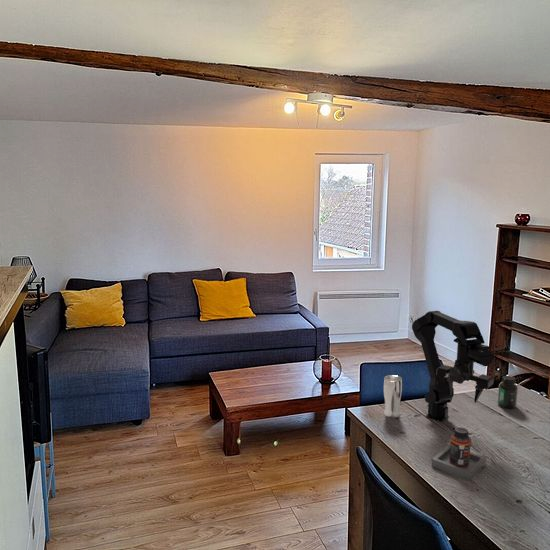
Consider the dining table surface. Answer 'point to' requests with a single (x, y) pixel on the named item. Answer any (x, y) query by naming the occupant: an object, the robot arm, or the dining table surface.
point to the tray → (466, 472)
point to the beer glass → (392, 395)
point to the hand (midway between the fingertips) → (462, 398)
